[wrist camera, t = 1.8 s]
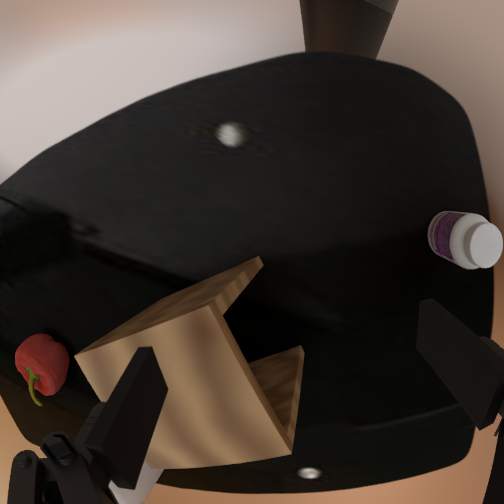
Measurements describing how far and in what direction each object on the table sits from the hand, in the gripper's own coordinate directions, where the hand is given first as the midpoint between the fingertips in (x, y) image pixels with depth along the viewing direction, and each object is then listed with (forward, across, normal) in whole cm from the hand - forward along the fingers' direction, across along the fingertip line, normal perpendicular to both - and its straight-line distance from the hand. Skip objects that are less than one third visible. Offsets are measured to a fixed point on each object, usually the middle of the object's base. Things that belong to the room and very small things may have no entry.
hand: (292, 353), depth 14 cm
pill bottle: (+18, +20, -1) cm, 27 cm away
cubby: (+21, -6, -9) cm, 24 cm away
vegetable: (+27, -39, -15) cm, 50 cm away
